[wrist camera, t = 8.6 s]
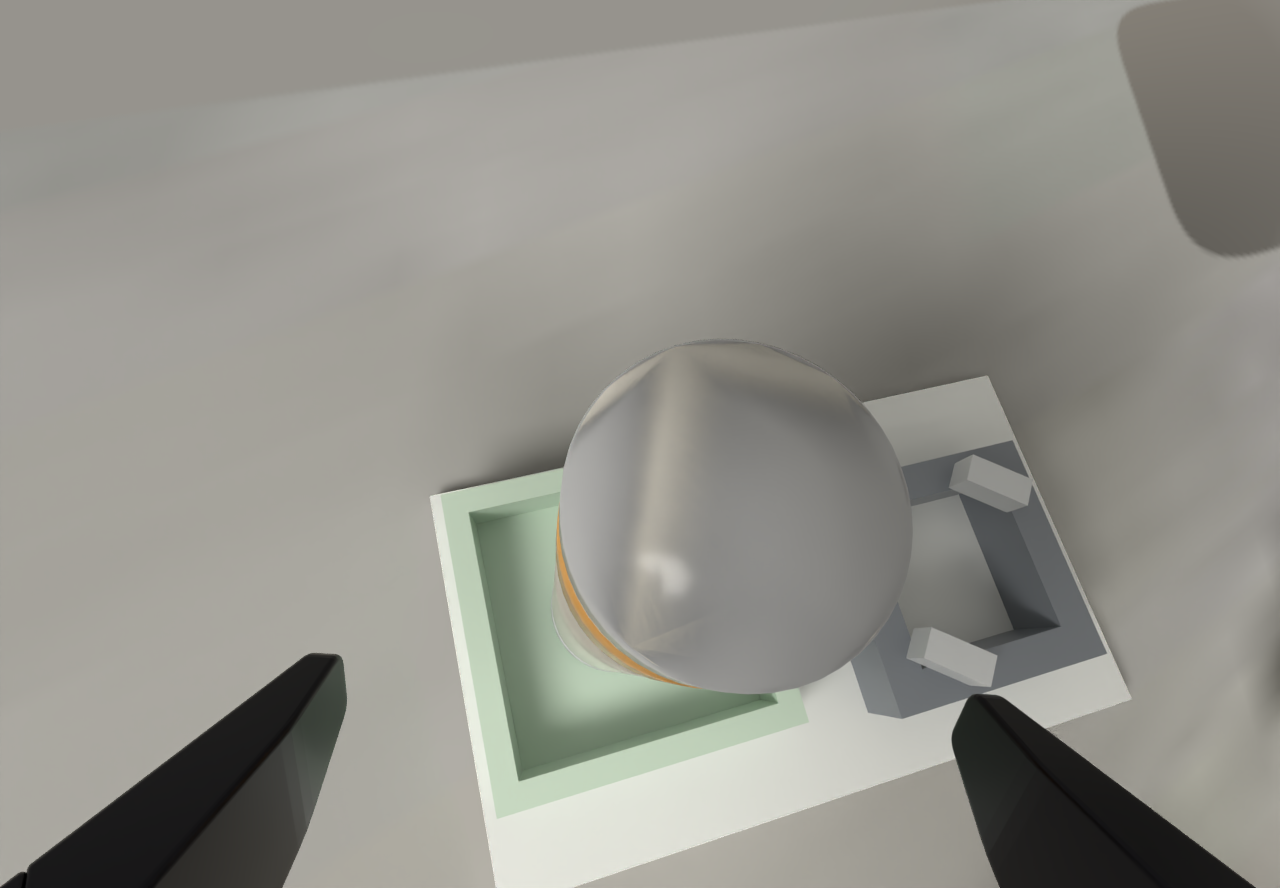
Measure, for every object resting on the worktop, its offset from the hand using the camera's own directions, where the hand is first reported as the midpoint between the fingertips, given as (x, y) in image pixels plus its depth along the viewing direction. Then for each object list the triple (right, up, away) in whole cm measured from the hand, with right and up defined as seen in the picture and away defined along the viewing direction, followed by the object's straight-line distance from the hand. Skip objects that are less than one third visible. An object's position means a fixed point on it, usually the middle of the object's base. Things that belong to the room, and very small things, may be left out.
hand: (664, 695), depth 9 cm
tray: (-1, -2, +12) cm, 12 cm away
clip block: (+9, -1, +13) cm, 16 cm away
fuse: (-1, -1, +11) cm, 11 cm away
